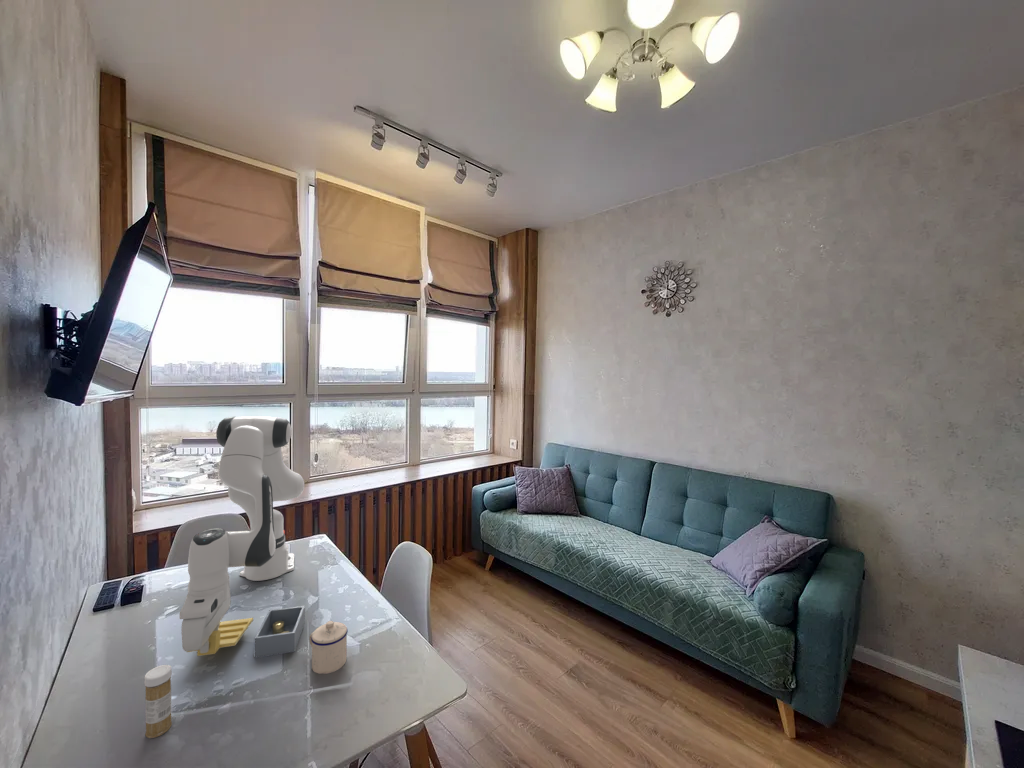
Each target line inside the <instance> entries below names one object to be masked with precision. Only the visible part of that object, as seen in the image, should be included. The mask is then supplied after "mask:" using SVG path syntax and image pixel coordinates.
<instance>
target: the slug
mask: <svg viewBox="0 0 1024 768" xmlns="http://www.w3.org/2000/svg"><path fill="white" fill-rule="evenodd" d="M282 632H284V621H277V622H275V623H274V624H273V635H274V634H280V633H282Z"/></svg>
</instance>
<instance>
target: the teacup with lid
mask: <svg viewBox="0 0 1024 768" xmlns="http://www.w3.org/2000/svg"><path fill="white" fill-rule="evenodd" d="M348 633H349V632H348V627H347V626H346V624H345V623H342V622H338V621H332V620H329V621H328V620H327V622H326V623H323V624H322V625H320V626H318V627H317V628H316V629H314V631H313V632H311V633H310V634H309V644H310V647H311V669H312V671H313V672H314V673H316V674H320V675H326V674H330V673H334V672H336V671H338V670H340V669H341V668H343V666H344V665H345V663H346V662H347V643H348V639H347V637H348V636H347V634H348Z"/></svg>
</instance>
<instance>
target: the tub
mask: <svg viewBox="0 0 1024 768" xmlns="http://www.w3.org/2000/svg"><path fill="white" fill-rule="evenodd" d="M277 621H284V632H285V631H289V632H288V633H281V634H274V635H273V624H274V623H275V622H277ZM305 624H306V605H300V606H291V607H284V608H275V609H270V610H268V612H267V613H266V616H265V617H264V619H263V622H262V624H261V625H260V627H259V629H258V631H257V632H256V635H255V637H254V648H253V649H254V651H253V652H254V653H253V654H254V655H253V656H254V658H262V657H270V656H275V655H276V656H277V655H283V654H288V653H295V651H296V649H297V646H298V643H299V641H300V639H301V634H302V632H303V630H304V626H305Z"/></svg>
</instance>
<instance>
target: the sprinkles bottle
mask: <svg viewBox="0 0 1024 768" xmlns="http://www.w3.org/2000/svg"><path fill="white" fill-rule="evenodd" d="M172 672H173V670H172V666H171V665H169V664H161V665H158V666H156V667H154V668H151V669H150V670H148V671H147V672H146V674H145V675H144V687H145V701H144V703H145V706H144V707H145V709H144V710H145V737H146V738H148V739H155V738H158V737H160V736H162V735H164V734H165V733H166V732H168V731H169V730H170V729H171V727H172V725H173V721H172V679H171V678H172V675H173V673H172Z"/></svg>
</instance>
